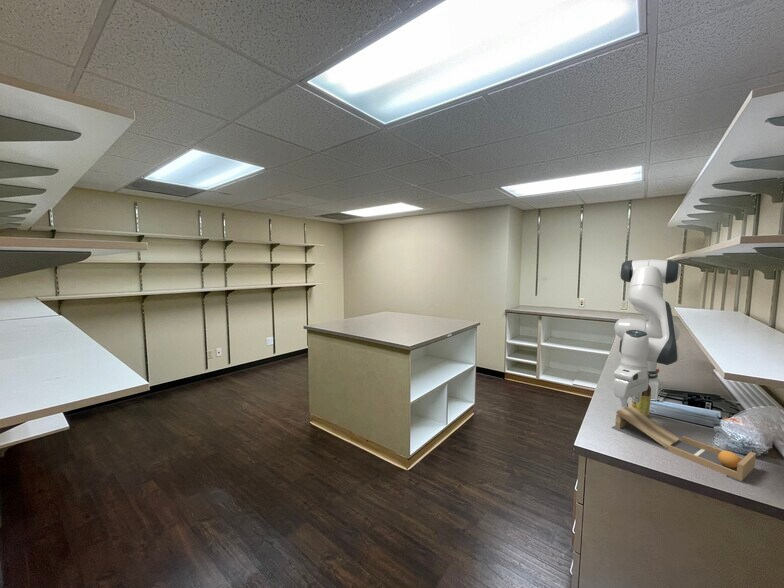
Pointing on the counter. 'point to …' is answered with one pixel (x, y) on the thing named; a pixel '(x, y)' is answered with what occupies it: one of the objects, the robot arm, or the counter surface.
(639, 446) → the counter surface
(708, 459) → the lane
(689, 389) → the counter surface
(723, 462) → the ball
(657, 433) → the ramp
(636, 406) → the sauce bottle
